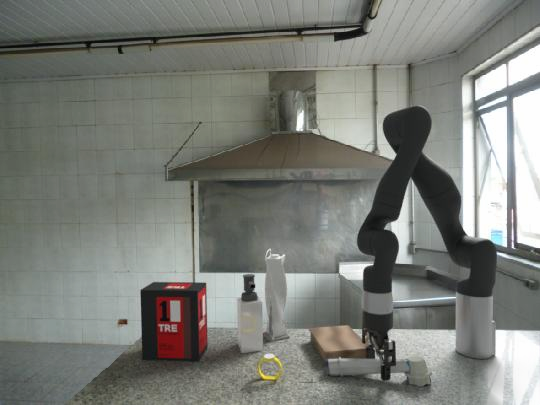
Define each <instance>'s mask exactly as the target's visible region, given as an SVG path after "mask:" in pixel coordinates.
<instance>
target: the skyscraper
mask: <svg viewBox="0 0 540 405" xmlns="http://www.w3.org/2000/svg"><path fill="white" fill-rule="evenodd" d="M268 253H269V255H268ZM264 260H265V265H266V271H265V272H266V273H265V279H264V300H265V308H266V312H267V313H266V314H267V318H268V320H267V326H266V329H265V331H263V338H265V339H266V340H267V341H269V343H271V342H277V341H282V340H285V339H289V338H291V337H290V335H288V333H287V329H286V325H285V322H284V315H285V311H286V305H287V296H288V282H287V277H286V271H285V268H284V264H285V261H286V254H282V255H281V256H280V254H278V253H277V254H276V253H272V249H271V248H268V250H266V253H265V256H264Z"/></svg>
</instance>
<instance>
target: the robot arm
mask: <svg viewBox="0 0 540 405" xmlns="http://www.w3.org/2000/svg"><path fill="white" fill-rule="evenodd" d="M432 124H433V121H432V116H431V114H430V111H429V110H428V109H427V108H426V107H424V106H423V105H419V104H418V105H411V106H408V107H404V108H402V109H398V110H395V111H393V112H390V113H388V114H387V115H386V116H385V117H384V119H383V122H382V132H383V136H384V137H385V140H386V141H387V143H388V145H389V146H390V147H391V149H392V150H393V152H394V154H395V156H394V158H393V160H392V162H391V163H390V165H389V166H388V168H387V169H386V171H385V172H384V174H383V175H382V177H381V178H380V180H379V182H378V184H377V186H376V190H375V194H374V196H373V200H372V204H371V209H370V211H369V212H368V214H367V215H366V216H365V219H364V221H363V222H362V225H361V226H360V228H359V230H358V232H357V237H356V245H357V248H358V250H359V252H361V253H362V254H364V255H365V256H366V255H367V256H372V257H374V260H373V263H372V264H370V265H366V266H365V267H364V268H363V270H362V294H361V296H362V298H361V310H362V311H361V316H362V317H361V320H362V321H361V339H362V343H363V344H365V349H366V359H376V356H378V359H380V362H381V374H380V379H381V381H383V382H387V381H388V382H389V381H391V380H392V379H391V378H392V377H391V374H392V373H391V366H396V359H397V356H396V354H397V353H396V352H397V348H396V341H395V339H393V340H392V339H391V340H390V338H389V331H390V330H392V329H393V328H394V296H393V273H394V270H395V266H396V262H397V259H398V254H399V251H400V250H399V249H400V243H399V239H398V237H397V234H395V232H393V231H392V230H390V229H385V228H386V226H387V225H388V224H390V223H393V222H397V221H398V219H399V217H400V215H401V211H402V207H403V203H404V200H405V196H406V192H407V189H408V186H409V183H410V180H412V183H413V184H414V186H415V187H416V190H417V191H418V194H419V196H420V198H421V200H422V201H423V203H424V205H425V206H426V208H427V210H428V211H429V214H430V215H431V217H432V219H433V222H434V223H435V226H436V227H437V229H438V231H439V233H440V236H441V238H442V241H443V243H444V247H445V249H446V251H447V253H448V256H449V258H450V259H451V261H452V263H453V264H455V265H457V266H458V267H461V268H465V269H470V270H469V277H468V278H463V279H458V280H457V281H456V283H455V350H456V352H458V354H460V355H463V356H464V357H468V358H472V359H479V360H485V359H486V360H487V359H491V357H493V356H496V353H497V352H496V343H497V342H496V341H497V340H496V339H497V338H496V337H497V336H496V334H497V332H496V331H497V330H496V329H497V328H496V327H497V326H496V321H495V320H493V312H494V311H493V307H494V306H493V305H494V304H493V301H494V300H493V299H494V298H493V295H494V294H493V293H494V287H495V285H496V281H497V280H496V278H497V277H496V276H497V264H498V251H497V248H496V245H495V243H494V242H493V241H492V240H490V239H488V238H483V237H476V236H470V235H468V234H467V233H466V231H465V229H464V227H463V226H462V223H461V221H460V214H461V213H460V212H461V209H462V195H461V192H460V190H459V188H458V187H457V185H456V182H455V180H454V179H453V177H452V175H451V174H450V173H449V172H448V171H447V170H446V169H445V168H443V167H442V166H441V165H440V164H438V162H436V161H435V160H433V159H432V158H430V156H428V155H427V154H426V153H425V151H424V148H425V145H426V143H427V141H428V139H429V136H430V133H431V130H432ZM391 359H392V360H391Z"/></svg>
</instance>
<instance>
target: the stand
mask: <svg viewBox="0 0 540 405" xmlns="http://www.w3.org/2000/svg"><path fill="white" fill-rule="evenodd" d="M308 331H309V333H310V342H311V344H312V345H313V347H314V349H315V350H316V351H317V353H318V355H319V357H320V358H321V360H322V361H323V363H324V364H325V365H326V359H339V357H341V358H350V359H366V349H365V344H363V343H362V337H360V335H359V334H358V333H357V332H356V331H355V330H353V329H352V327H351V326H350V325H348V324H347V325H335V326H334V325H332V326H319V327H308Z"/></svg>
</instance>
